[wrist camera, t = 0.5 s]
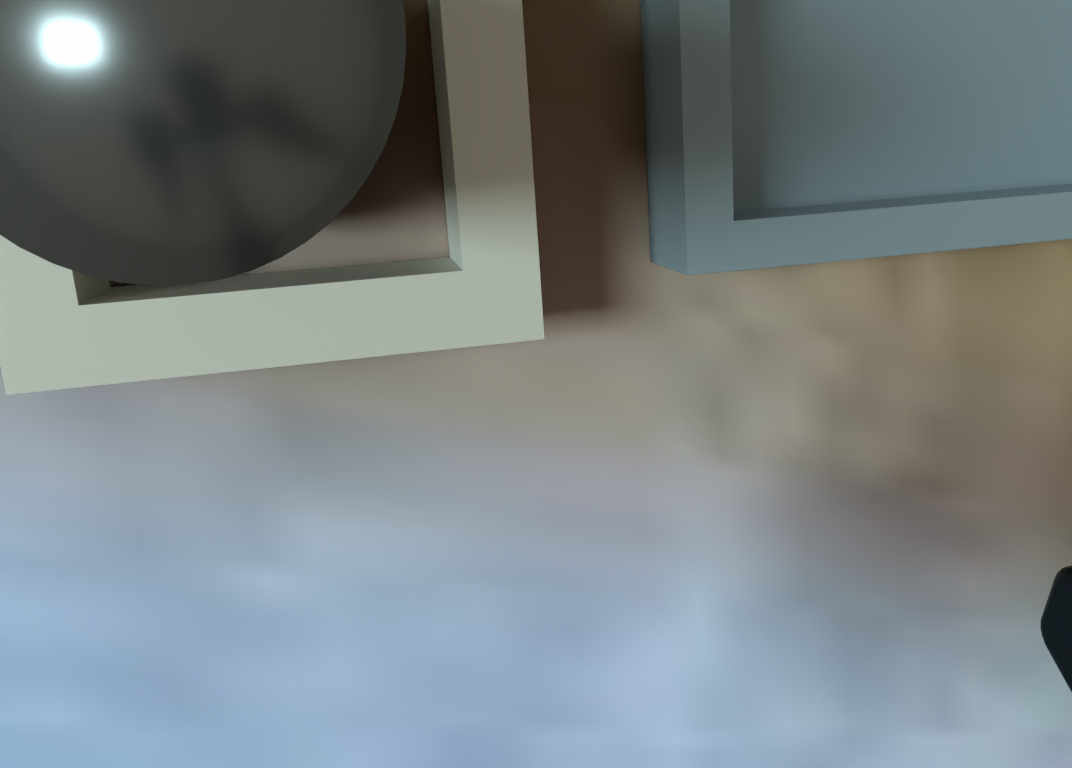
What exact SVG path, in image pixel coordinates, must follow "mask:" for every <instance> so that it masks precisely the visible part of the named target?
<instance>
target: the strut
mask: <svg viewBox="0 0 1072 768" xmlns="http://www.w3.org/2000/svg"><path fill="white" fill-rule="evenodd" d="M405 60H406V25H405V12H404V6H403V0H0V235H1V236H3V237H4V238H6V239H7V240H9V241H11V242H12V243H14V244H15V245H17V246H18V247H20V248H22V249H24V250H26V251H28V252H30V253H32V254H34V255H36V256H38V257H40V258H42V259H45V260H47V261H49V262H51V263H53V264H56V265H59V266H61V267H64V268H67V269H70V270H73V271H76V272H79V273H82V274H84V275H88V276H93V277H97V278H102V279H106V280H111V281H115V282H120V283H130V284H140V285H151V286H164V285H189V284H196V283H202V282H209V281H215V280H221V279H224V278H228V277H231V276H235V275H238V274H241V273H245V272H248V271H251V270H254V269H256V268H258V267H260V266H263V265H265V264H267V263H270V262H272V261H274V260H276V259H279V258H281V257H282V256H284V255H285V254H287V253H289V252H290V251H292V250H294V249H295V248H297V247H299V246H300V245H302V244H304V243H305V242H307V241H308V240H309V239H310V238H312V237H313V236H314V235H315V234H317V233H318V232H319V231H320V230H322V229H323V228H324V227H325V226H327V225H328V224H329V223H330V222H331V221H332V220H333V219H334V218H335V217H336V216H337V215H338V214H339V213H340V212H341V211H342V210H343V208H344V207H345V206H346V205H347V204H348V203H349V202H350V201H351V200H352V199H353V197H354V196H355V195H356V193H357V192H358V190H359V189H360V188H361V186H362V185H363V183H364V182H365V181H366V179H367V178H368V176H369V175H370V173H371V172H372V170H373V168H374V166H375V164H376V162H377V160H378V158H379V157H380V154H381V153H382V151H383V149H384V147H385V144H386V142H387V139H388V136H389V134H390V131H391V128H392V126H393V123H394V120H395V117H396V114H397V109H398V105H399V101H400V96H401V92H402V87H403V81H404V71H405Z"/></svg>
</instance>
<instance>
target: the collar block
mask: <svg viewBox="0 0 1072 768" xmlns="http://www.w3.org/2000/svg"><path fill="white" fill-rule="evenodd" d="M427 3H428V14H429V25H430V37H431V48H432V59H433V70H434V82H435V93H436V104H437V116H438V127H439V138H440V149H441V161H442V172H443V183H444V195H445V206H446V217H447V229H448V240H449V251H450V257H446V258H435V259H424V260H413V261H401V262H390V263H379V264H367V265H356V266H345V267H333V268H322V269H311V270H299V271H288V272H277V273H265V274H254V275H243V276H231V277H228V278H224V279H221V280H215V281H209V282H202V283H196V284H189V285H164V286H151V285H130V286H118V287H110V282H109V280H106V279H102V278H97V277H93V276H88V275H84V274H82V273H79V272H76V271H73V270H70V269H67V268H64V267H61V266H59V265H56V264H53V263H51V262H49V261H47V260H45V259H42V258H40V257H38V256H36V255H34V254H32V253H30V252H28V251H26V250H24V249H22V248H20V247H18V246H17V245H15V244H14V243H12V242H11V241H9V240H7V239H6V238H4V237H3V236H1V235H0V367H1V372H2V377H3V381H4V386H5V391H6V395H10V394H20V393H29V392H39V391H49V390H58V389H68V388H78V387H87V386H97V385H106V384H116V383H126V382H135V381H145V380H155V379H164V378H174V377H184V376H193V375H203V374H213V373H222V372H232V371H242V370H251V369H261V368H270V367H280V366H290V365H299V364H309V363H319V362H328V361H338V360H348V359H357V358H367V357H377V356H386V355H396V354H406V353H415V352H425V351H434V350H444V349H454V348H463V347H473V346H483V345H492V344H502V343H512V342H521V341H531V340H541V339H544V324H543V309H542V294H541V279H540V264H539V249H538V234H537V218H536V203H535V188H534V173H533V158H532V143H531V128H530V113H529V98H528V83H527V68H526V53H525V38H524V23H523V8H522V0H427Z"/></svg>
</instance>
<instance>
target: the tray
mask: <svg viewBox="0 0 1072 768" xmlns="http://www.w3.org/2000/svg"><path fill="white" fill-rule="evenodd" d="M640 1H641V27H642V53H643V79H644V104H645V130H646V156H647V181H648V207H649V233H650V259H651V262H653V263H655V264H658V265H661V266H663V267H666V268H669V269H672V270H674V271H677V272H680V273H683V274H685V275H695V274H706V273H716V272H727V271H737V270H748V269H758V268H769V267H779V266H790V265H800V264H811V263H821V262H832V261H842V260H853V259H863V258H874V257H884V256H895V255H906V254H916V253H927V252H937V251H948V250H958V249H969V248H979V247H990V246H1000V245H1011V244H1021V243H1032V242H1042V241H1053V240H1063V239H1072V0H640Z"/></svg>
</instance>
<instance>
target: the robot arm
mask: <svg viewBox="0 0 1072 768" xmlns="http://www.w3.org/2000/svg"><path fill="white" fill-rule="evenodd" d="M1041 632H1042V636H1043V639H1044V642H1045V644H1046V647H1047V648H1048V650H1049V652H1050V654H1051V656H1052V657H1053V659H1054V661H1055V663H1056V665H1057V667H1058V668H1059V670H1060V672H1061V674H1062V676H1063V677H1064V679H1065V681H1066V683H1067V685H1068V686H1069V688H1070V690H1071V692H1072V566H1068V567H1064V568H1062V569H1061V570H1060V571H1059V572H1058V573H1057V575H1056V577H1055V579H1054V582H1053V585H1052V588H1051V591H1050V594H1049V597H1048V600H1047V603H1046V606H1045V609H1044V612H1043V615H1042V618H1041Z"/></svg>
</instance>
